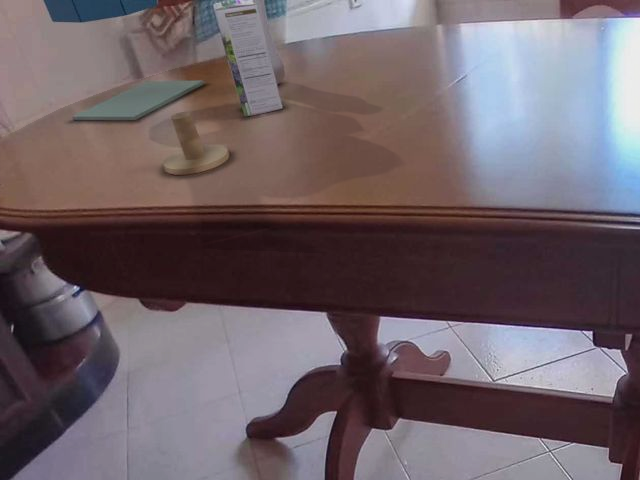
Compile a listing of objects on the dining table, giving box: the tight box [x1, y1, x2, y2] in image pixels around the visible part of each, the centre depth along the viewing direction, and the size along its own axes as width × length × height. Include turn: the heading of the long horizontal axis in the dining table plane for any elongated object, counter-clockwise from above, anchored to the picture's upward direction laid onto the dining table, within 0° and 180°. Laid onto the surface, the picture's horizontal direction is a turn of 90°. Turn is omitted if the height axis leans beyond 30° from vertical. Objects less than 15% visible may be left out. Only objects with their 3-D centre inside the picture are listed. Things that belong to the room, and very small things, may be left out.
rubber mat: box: [71, 80, 205, 121], centre depth 115 cm, size 18×12×1 cm, turn 163°
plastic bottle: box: [222, 0, 285, 85], centre depth 109 cm, size 6×7×20 cm
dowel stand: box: [162, 111, 230, 176], centre depth 87 cm, size 8×8×6 cm
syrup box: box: [212, 0, 284, 117], centre depth 101 cm, size 6×6×14 cm
